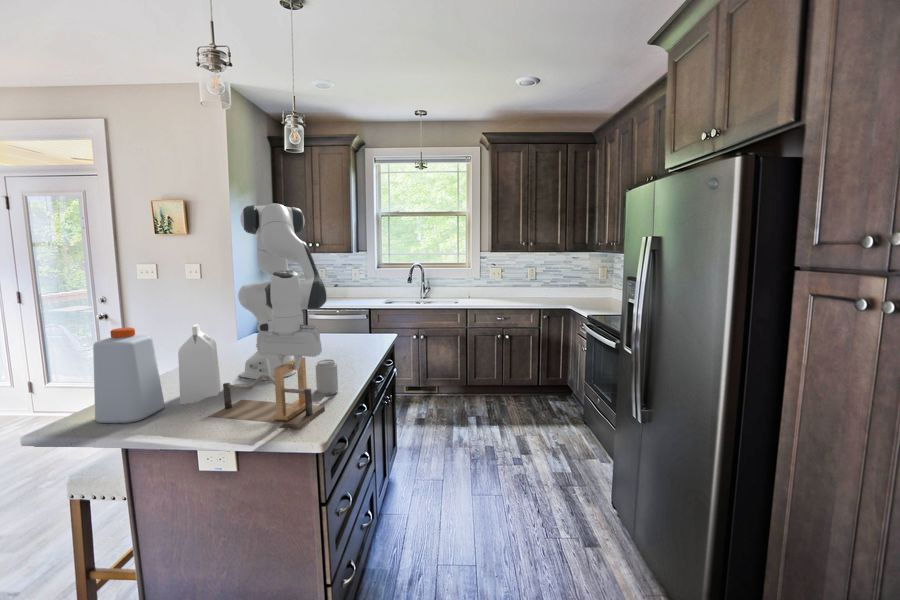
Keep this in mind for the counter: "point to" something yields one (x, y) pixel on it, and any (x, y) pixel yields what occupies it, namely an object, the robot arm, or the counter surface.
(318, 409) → the buzz board
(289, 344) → the robot arm
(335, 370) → the can
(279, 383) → the wooden frame
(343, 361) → the counter surface
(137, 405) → the plastic bottle
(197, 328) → the milk
